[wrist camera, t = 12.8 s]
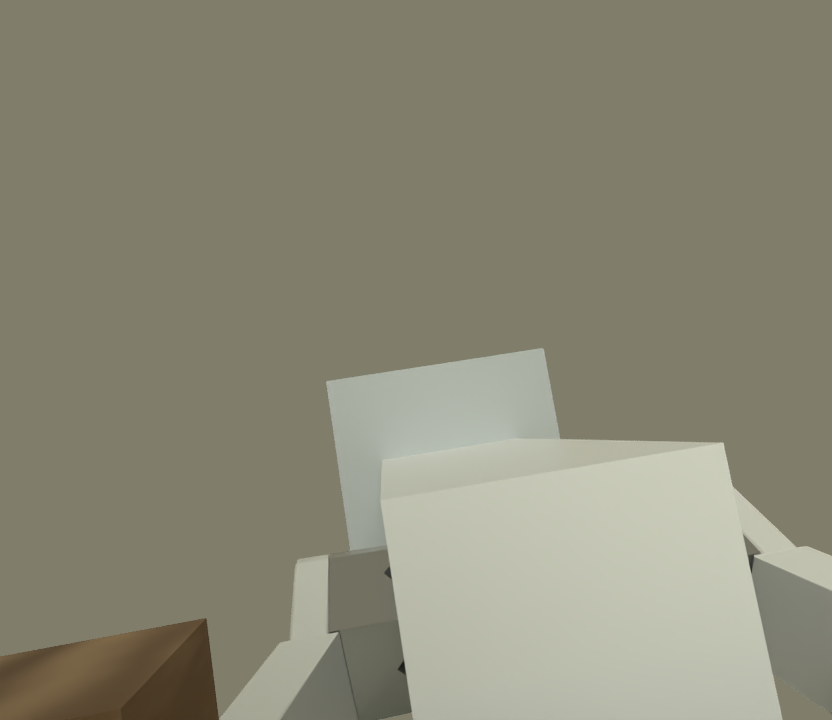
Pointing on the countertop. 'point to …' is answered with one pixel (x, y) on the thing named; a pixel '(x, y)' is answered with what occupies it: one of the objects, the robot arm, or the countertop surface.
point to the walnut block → (114, 678)
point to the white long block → (548, 553)
